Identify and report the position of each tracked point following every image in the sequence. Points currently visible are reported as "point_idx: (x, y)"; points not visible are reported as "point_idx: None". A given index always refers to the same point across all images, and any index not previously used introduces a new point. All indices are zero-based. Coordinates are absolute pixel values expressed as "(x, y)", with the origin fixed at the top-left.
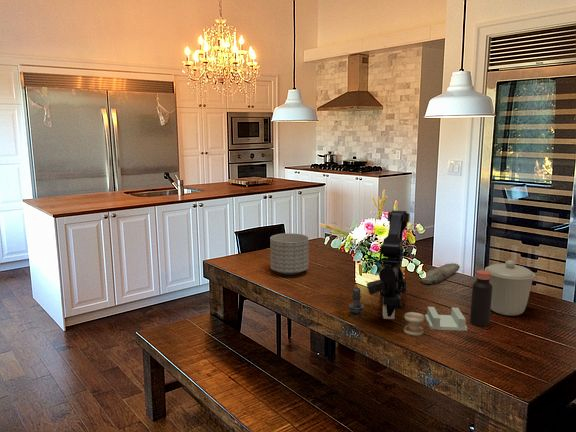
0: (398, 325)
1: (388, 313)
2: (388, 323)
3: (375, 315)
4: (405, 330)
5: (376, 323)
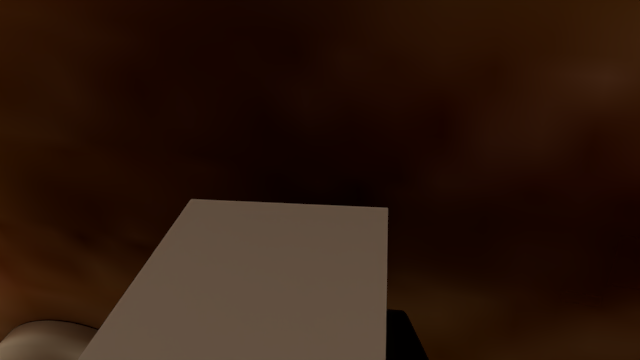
0: None
1: None
2: None
3: (539, 54)
4: (2, 348)
5: (153, 44)
